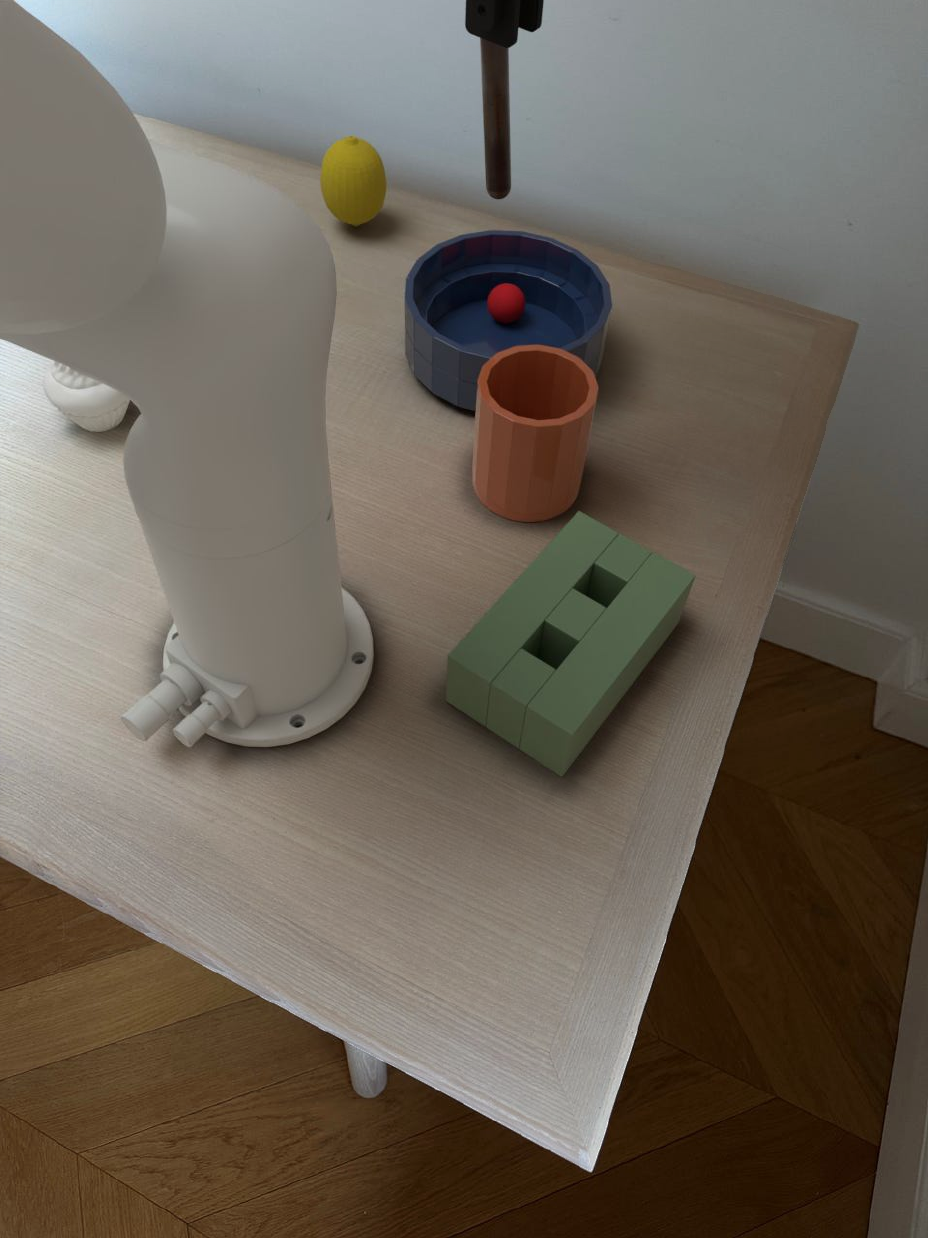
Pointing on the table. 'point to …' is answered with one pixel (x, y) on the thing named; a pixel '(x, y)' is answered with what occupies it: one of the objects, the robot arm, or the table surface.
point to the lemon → (353, 180)
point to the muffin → (84, 398)
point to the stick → (496, 118)
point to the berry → (506, 303)
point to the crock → (532, 431)
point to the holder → (567, 641)
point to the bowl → (460, 320)
